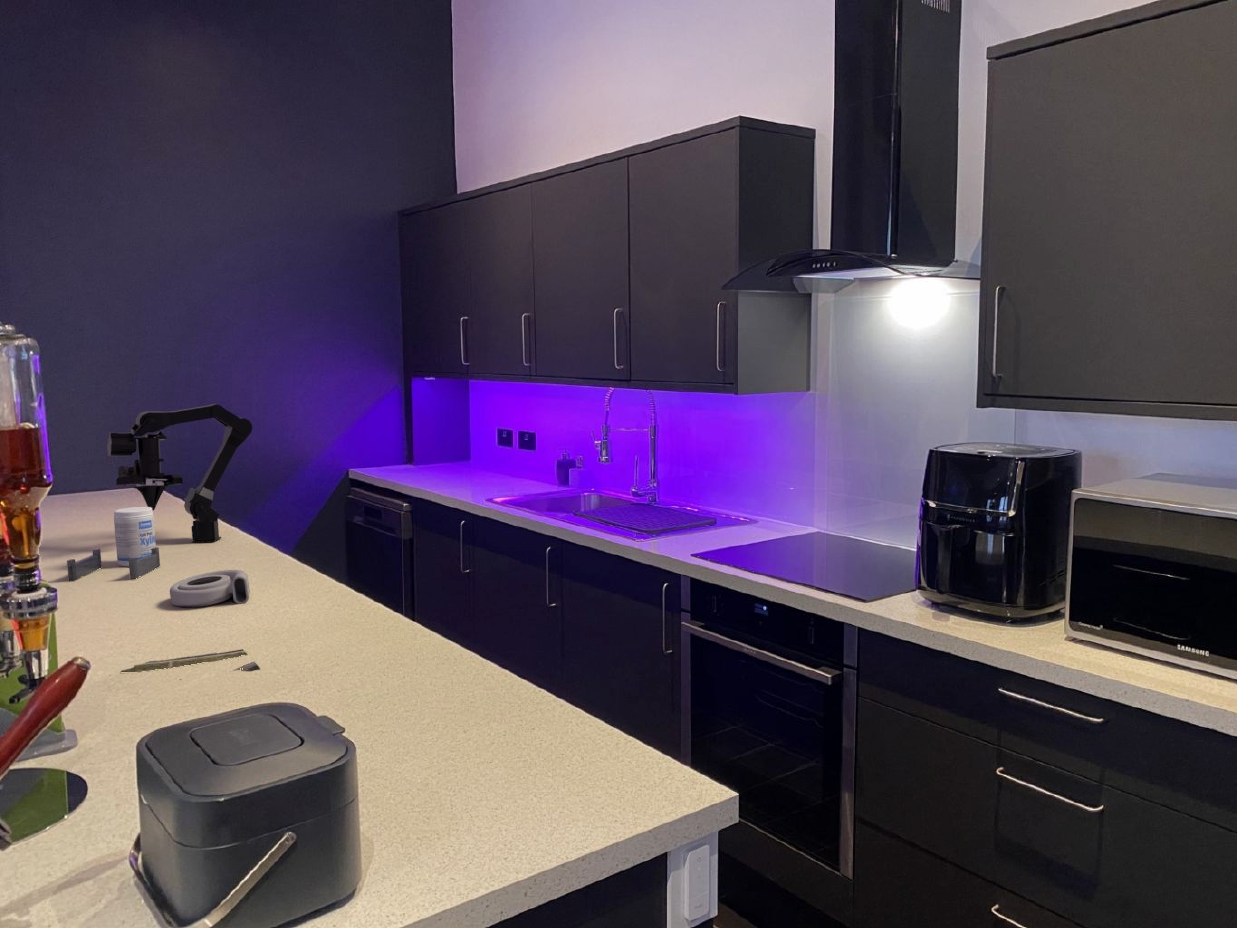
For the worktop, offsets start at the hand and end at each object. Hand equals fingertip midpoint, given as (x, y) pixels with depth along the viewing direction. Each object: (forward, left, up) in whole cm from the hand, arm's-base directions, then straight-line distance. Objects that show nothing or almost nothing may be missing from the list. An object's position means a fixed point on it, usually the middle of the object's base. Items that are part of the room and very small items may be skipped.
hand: (151, 510), depth 280 cm
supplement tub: (-3, +18, -12) cm, 21 cm away
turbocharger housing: (-39, +58, -12) cm, 71 cm away
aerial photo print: (-54, +110, -12) cm, 123 cm away
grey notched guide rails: (-3, +30, -11) cm, 32 cm away
